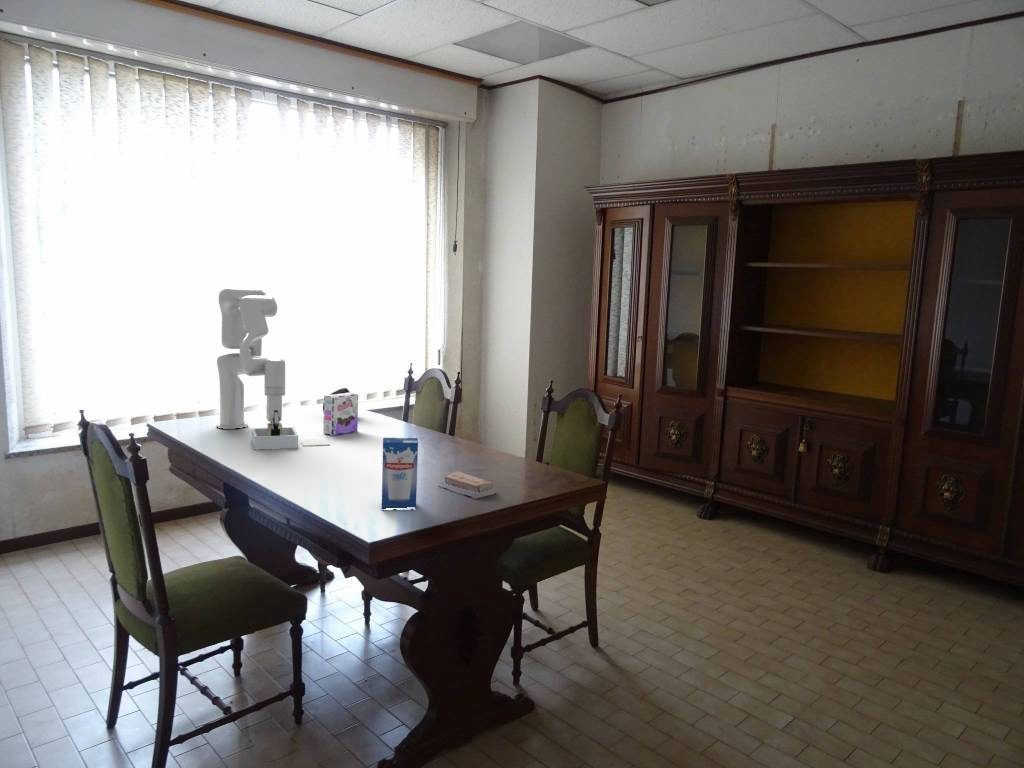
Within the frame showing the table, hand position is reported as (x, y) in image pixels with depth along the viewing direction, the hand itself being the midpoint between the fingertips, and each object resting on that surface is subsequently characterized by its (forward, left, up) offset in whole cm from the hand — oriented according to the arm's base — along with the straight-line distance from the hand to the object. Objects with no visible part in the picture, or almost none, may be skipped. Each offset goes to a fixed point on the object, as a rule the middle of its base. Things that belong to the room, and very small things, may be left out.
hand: (274, 437), depth 284 cm
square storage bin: (0, 0, -3) cm, 3 cm away
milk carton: (+87, +27, -3) cm, 91 cm away
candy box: (-17, +28, -3) cm, 33 cm away
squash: (-49, +33, -3) cm, 59 cm away
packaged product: (+75, +52, -4) cm, 92 cm away
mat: (0, +15, -3) cm, 15 cm away
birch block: (0, 0, -1) cm, 1 cm away
